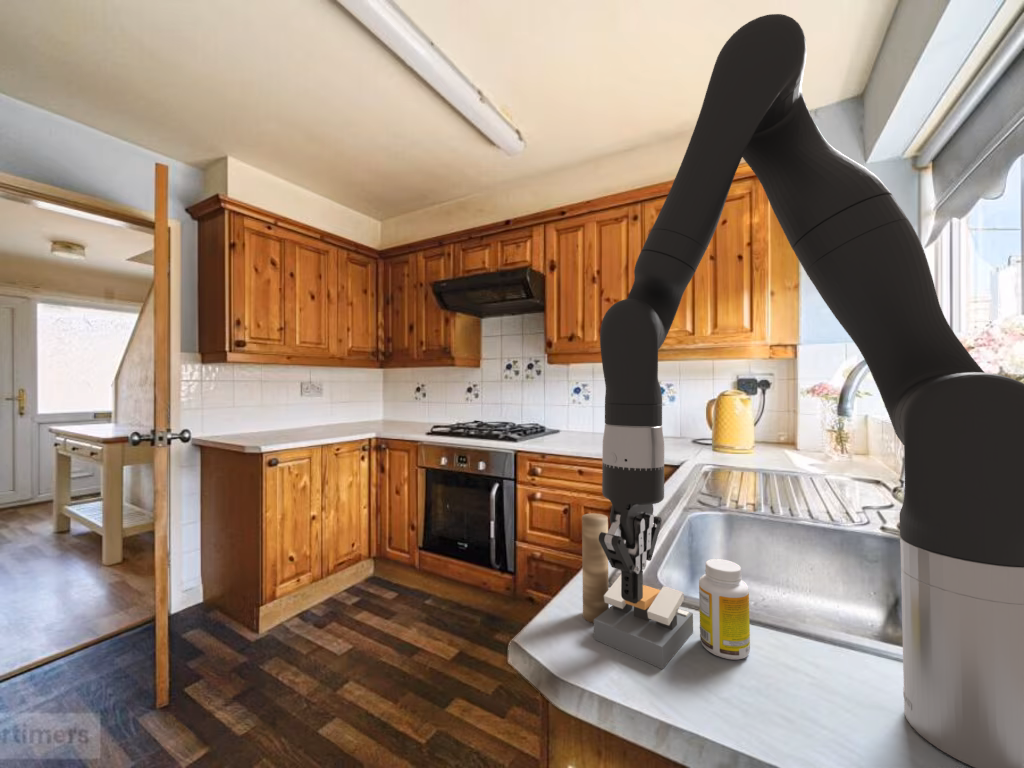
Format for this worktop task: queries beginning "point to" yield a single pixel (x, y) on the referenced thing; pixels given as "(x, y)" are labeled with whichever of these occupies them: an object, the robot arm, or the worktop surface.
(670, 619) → the paddle near bottle
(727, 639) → the supplement bottle
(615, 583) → the paddle near post
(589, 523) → the pine post
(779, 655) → the worktop surface
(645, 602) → the paddle middle
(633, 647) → the board
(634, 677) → the worktop surface
